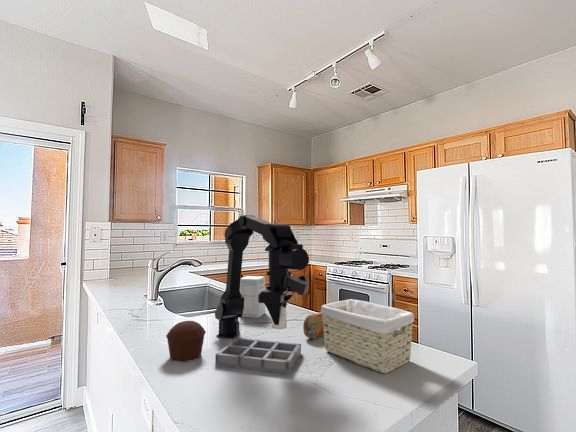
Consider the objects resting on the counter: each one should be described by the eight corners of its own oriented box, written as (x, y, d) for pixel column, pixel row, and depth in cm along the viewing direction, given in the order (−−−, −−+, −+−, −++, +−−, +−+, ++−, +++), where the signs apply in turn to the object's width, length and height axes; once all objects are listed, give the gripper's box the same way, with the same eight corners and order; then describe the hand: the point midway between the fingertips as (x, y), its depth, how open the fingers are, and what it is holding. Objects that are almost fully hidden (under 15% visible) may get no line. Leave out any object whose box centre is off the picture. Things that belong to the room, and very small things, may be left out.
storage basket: (417, 362, 93) (416, 310, 94) (385, 379, 82) (385, 320, 83) (351, 340, 111) (351, 297, 112) (318, 352, 101) (318, 304, 101)
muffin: (188, 366, 90) (189, 330, 90) (157, 360, 93) (157, 325, 94) (212, 351, 101) (213, 319, 101) (183, 346, 104) (184, 315, 105)
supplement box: (265, 313, 148) (265, 276, 149) (259, 318, 139) (259, 279, 140) (246, 311, 150) (246, 275, 151) (238, 316, 141) (239, 278, 142)
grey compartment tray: (215, 365, 90) (215, 354, 90) (236, 347, 104) (236, 337, 105) (288, 374, 85) (288, 362, 85) (300, 353, 99) (300, 343, 99)
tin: (308, 342, 109) (308, 317, 110) (301, 339, 112) (301, 315, 112) (336, 333, 120) (336, 310, 120) (329, 331, 122) (329, 308, 122)
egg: (269, 328, 90) (269, 306, 90) (274, 324, 94) (274, 303, 94) (284, 329, 89) (284, 307, 89) (288, 325, 93) (288, 304, 93)
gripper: (298, 271, 81) (299, 334, 80) (312, 265, 99) (312, 316, 98) (257, 270, 84) (257, 331, 83) (277, 264, 102) (277, 314, 101)
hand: (278, 322), depth 91 cm, fingers closed on egg, 4 cm apart
